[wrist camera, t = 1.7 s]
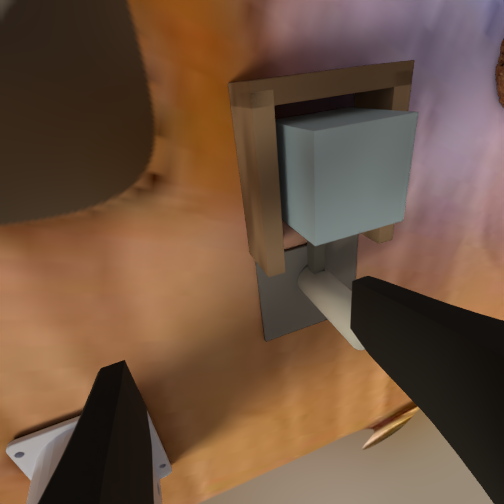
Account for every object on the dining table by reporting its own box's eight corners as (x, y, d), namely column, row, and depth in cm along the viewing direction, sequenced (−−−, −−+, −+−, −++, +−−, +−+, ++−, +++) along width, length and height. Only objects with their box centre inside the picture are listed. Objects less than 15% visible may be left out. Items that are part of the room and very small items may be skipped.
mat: (351, 308, 25) (353, 309, 25) (264, 339, 23) (265, 341, 23) (356, 230, 22) (358, 231, 22) (255, 259, 20) (256, 260, 20)
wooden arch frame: (360, 222, 22) (392, 239, 19) (249, 253, 20) (268, 277, 17) (371, 64, 17) (414, 59, 15) (227, 82, 15) (249, 81, 12)
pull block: (342, 280, 23) (404, 333, 18) (280, 301, 22) (327, 364, 17) (349, 107, 17) (443, 113, 12) (265, 121, 16) (331, 135, 11)
